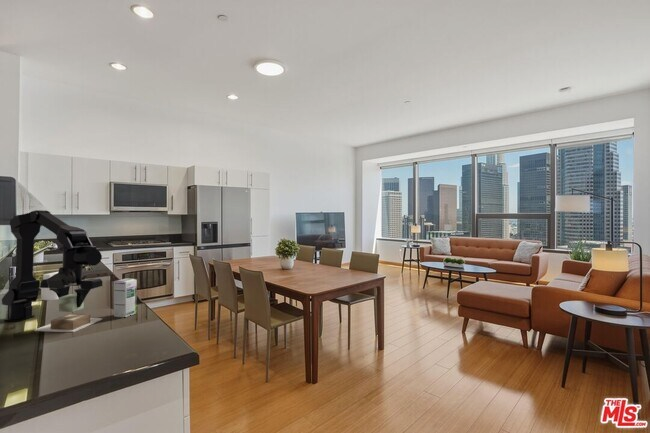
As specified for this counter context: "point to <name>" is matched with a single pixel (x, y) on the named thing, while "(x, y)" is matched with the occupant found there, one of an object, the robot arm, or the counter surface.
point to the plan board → (69, 323)
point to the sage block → (69, 303)
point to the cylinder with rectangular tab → (47, 293)
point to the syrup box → (125, 297)
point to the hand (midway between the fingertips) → (71, 306)
